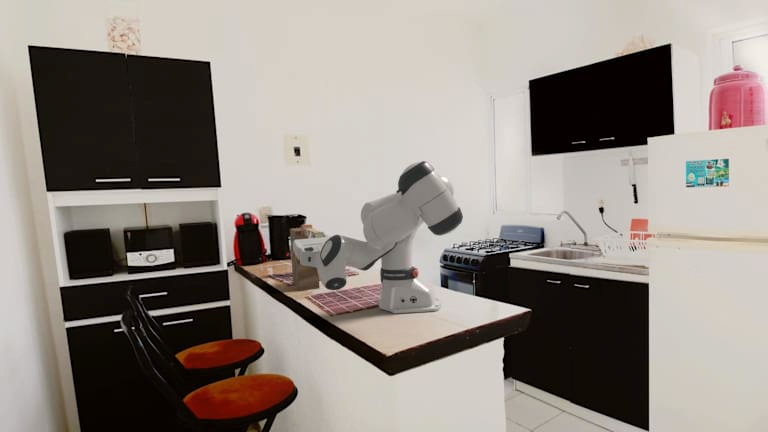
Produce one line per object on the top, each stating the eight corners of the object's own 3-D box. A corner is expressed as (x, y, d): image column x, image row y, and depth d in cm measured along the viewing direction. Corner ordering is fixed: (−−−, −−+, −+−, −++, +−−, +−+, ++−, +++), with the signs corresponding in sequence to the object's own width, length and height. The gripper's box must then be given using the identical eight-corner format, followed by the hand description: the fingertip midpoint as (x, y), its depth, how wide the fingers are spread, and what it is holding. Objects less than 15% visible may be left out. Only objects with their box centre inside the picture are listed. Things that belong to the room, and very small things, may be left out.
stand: (319, 288, 183) (316, 229, 181) (299, 291, 180) (295, 231, 178) (312, 281, 198) (308, 227, 196) (293, 283, 194) (289, 228, 193)
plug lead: (324, 239, 157) (323, 228, 157) (313, 240, 156) (313, 229, 155) (310, 233, 180) (310, 224, 180) (301, 234, 179) (301, 225, 179)
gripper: (353, 246, 151) (343, 225, 162) (297, 251, 144) (290, 229, 154) (351, 259, 155) (341, 238, 165) (296, 265, 147) (290, 242, 158)
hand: (316, 233), depth 160 cm, fingers closed on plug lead, 3 cm apart
